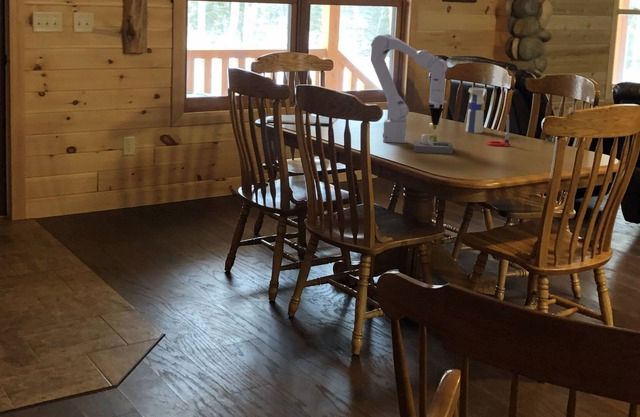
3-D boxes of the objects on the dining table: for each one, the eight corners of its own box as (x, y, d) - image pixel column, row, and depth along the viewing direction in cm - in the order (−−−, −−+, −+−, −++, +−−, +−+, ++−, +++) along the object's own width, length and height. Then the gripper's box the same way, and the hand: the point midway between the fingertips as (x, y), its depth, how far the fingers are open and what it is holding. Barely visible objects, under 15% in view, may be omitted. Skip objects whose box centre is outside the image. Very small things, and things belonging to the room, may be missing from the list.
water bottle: (486, 131, 394) (491, 76, 387) (479, 133, 387) (484, 77, 380) (469, 129, 398) (474, 74, 391) (462, 131, 391) (466, 75, 384)
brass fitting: (427, 146, 352) (429, 124, 350) (427, 144, 357) (429, 122, 354) (438, 146, 352) (440, 124, 350) (438, 144, 356) (439, 123, 354)
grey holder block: (414, 151, 339) (415, 136, 338) (413, 146, 350) (414, 132, 348) (452, 154, 338) (453, 138, 336) (451, 148, 348) (452, 134, 347)
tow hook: (485, 146, 359) (507, 147, 357) (486, 115, 356) (509, 116, 354) (487, 143, 367) (509, 144, 364) (488, 112, 364) (510, 113, 361)
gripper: (448, 92, 341) (445, 126, 345) (446, 88, 355) (443, 121, 359) (430, 91, 342) (427, 125, 345) (429, 87, 356) (426, 120, 359)
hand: (434, 123), depth 352 cm, fingers open, 7 cm apart
